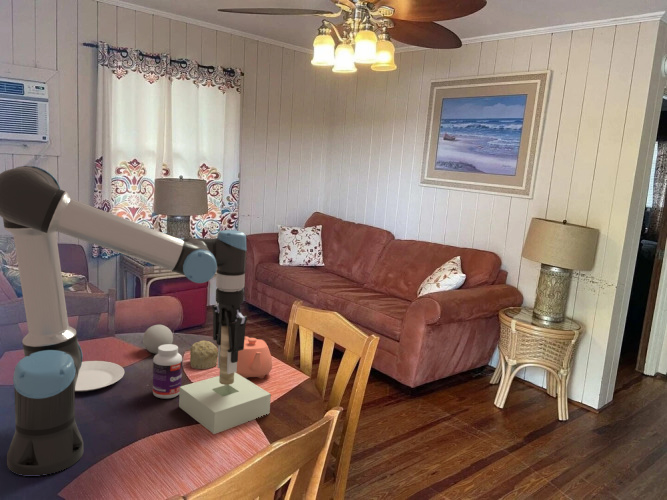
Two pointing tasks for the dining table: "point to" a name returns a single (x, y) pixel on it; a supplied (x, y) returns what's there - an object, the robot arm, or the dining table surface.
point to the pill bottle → (167, 372)
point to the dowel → (225, 358)
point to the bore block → (224, 402)
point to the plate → (97, 375)
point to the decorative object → (203, 355)
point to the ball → (157, 337)
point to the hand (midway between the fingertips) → (226, 369)
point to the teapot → (254, 359)
